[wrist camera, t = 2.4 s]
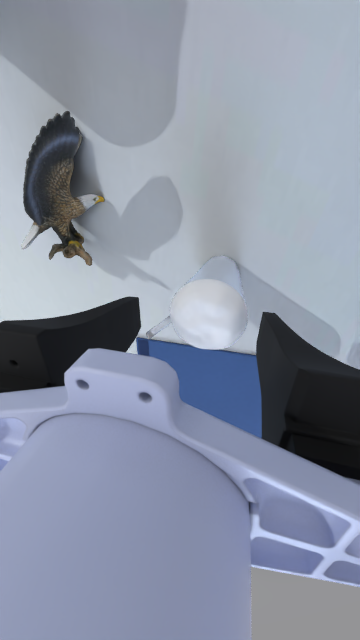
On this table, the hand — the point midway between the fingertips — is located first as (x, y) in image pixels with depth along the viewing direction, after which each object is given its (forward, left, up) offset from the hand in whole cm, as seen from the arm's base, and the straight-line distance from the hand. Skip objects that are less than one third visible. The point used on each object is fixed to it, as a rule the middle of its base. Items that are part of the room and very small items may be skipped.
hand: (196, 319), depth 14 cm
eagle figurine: (+12, -6, -9) cm, 16 cm away
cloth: (-2, +15, -8) cm, 17 cm away
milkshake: (0, 0, -9) cm, 9 cm away
